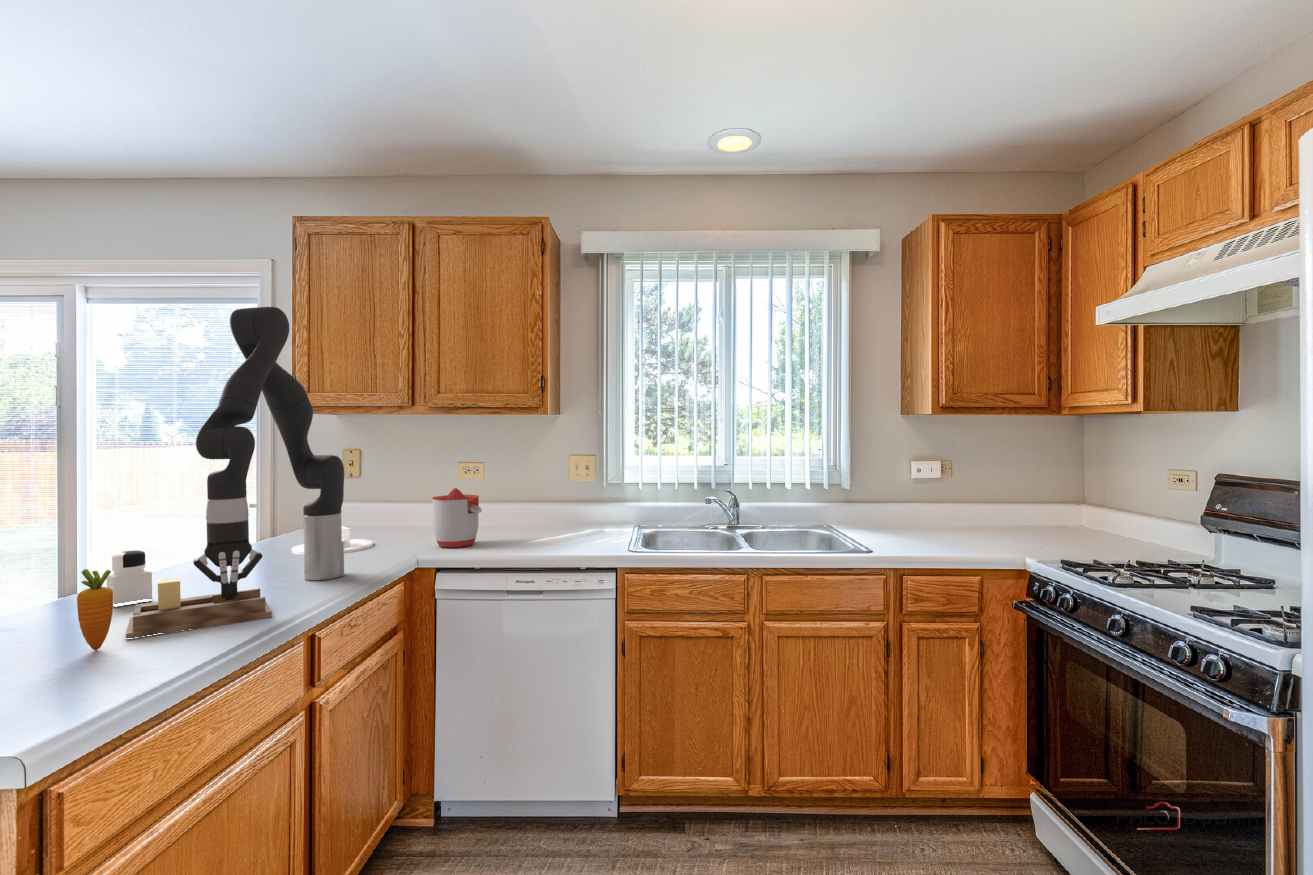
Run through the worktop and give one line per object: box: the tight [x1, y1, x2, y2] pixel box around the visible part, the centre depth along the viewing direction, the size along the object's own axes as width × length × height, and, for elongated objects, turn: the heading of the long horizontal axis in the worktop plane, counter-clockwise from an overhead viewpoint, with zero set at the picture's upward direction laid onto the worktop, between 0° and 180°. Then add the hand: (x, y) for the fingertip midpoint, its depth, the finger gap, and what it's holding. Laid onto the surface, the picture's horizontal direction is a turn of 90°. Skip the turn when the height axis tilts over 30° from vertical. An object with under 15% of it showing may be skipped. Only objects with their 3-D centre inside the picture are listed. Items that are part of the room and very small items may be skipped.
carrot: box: [76, 568, 114, 651], centre depth 117 cm, size 5×5×15 cm
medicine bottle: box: [105, 549, 153, 604], centre depth 151 cm, size 7×7×12 cm
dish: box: [291, 525, 374, 556], centre depth 220 cm, size 25×25×11 cm
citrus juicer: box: [431, 487, 482, 549], centre depth 222 cm, size 16×17×20 cm
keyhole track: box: [125, 587, 273, 639], centre depth 135 cm, size 24×14×4 cm, turn 127°
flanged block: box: [157, 577, 181, 610], centre depth 132 cm, size 7×7×8 cm
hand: (229, 599), depth 139 cm, fingers closed
